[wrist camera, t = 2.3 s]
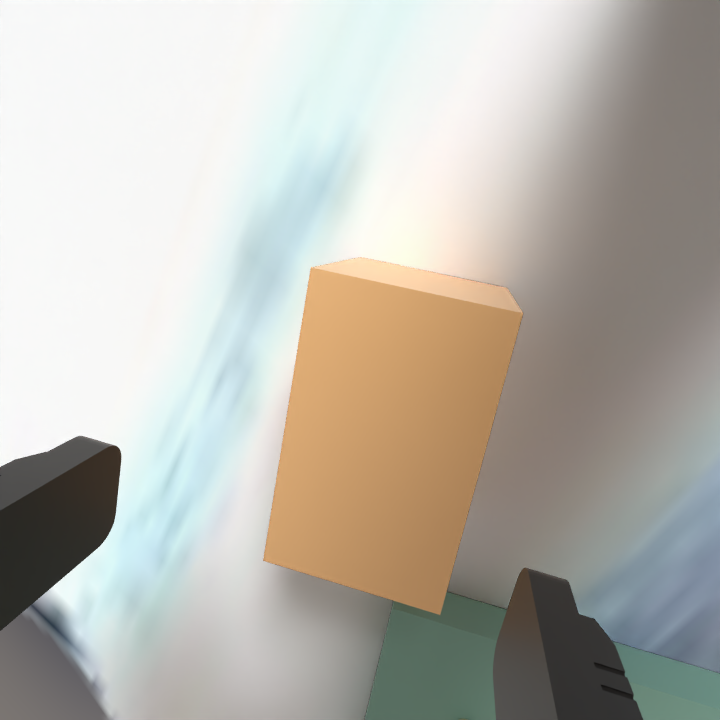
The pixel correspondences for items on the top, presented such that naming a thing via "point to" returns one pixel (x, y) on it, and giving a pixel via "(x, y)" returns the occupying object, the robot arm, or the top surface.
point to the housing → (388, 426)
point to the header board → (475, 669)
